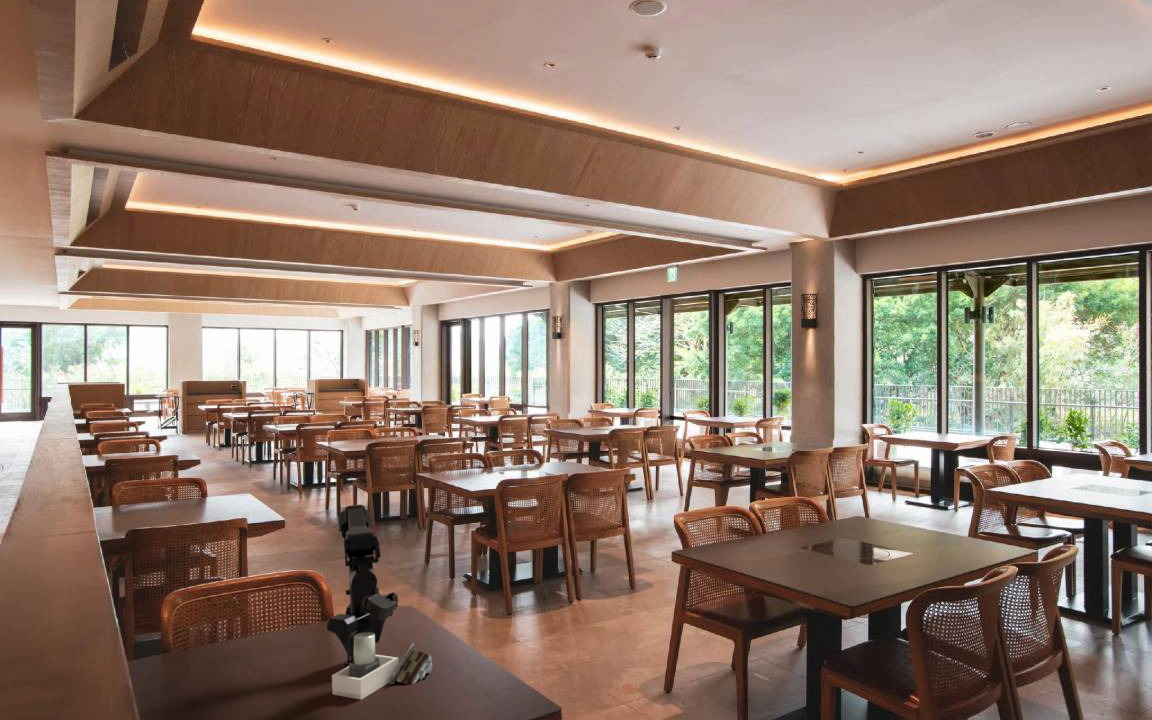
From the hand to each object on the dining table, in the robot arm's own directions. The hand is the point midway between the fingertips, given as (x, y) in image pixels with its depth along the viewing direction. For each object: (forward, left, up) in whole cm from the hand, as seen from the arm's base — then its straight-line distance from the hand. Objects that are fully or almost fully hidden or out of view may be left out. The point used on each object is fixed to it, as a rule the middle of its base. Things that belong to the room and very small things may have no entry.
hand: (364, 649), depth 180 cm
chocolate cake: (+8, +8, -9) cm, 15 cm away
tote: (0, 0, -9) cm, 9 cm away
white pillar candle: (0, 0, -3) cm, 3 cm away
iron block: (0, 0, -8) cm, 8 cm away
